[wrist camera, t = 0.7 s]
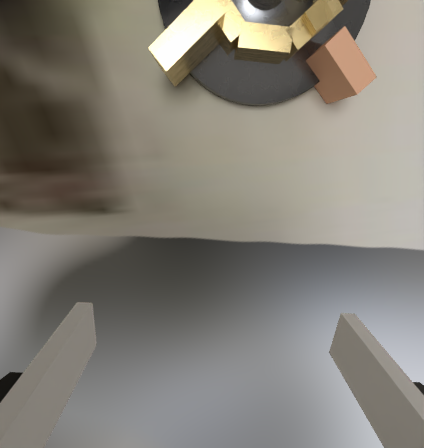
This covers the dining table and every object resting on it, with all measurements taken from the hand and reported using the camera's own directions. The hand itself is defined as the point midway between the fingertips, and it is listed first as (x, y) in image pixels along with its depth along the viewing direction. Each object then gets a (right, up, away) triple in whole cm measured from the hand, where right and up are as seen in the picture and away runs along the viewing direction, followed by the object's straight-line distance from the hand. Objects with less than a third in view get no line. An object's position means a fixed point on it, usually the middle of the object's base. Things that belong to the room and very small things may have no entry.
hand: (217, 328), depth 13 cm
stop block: (+14, +24, +19) cm, 34 cm away
